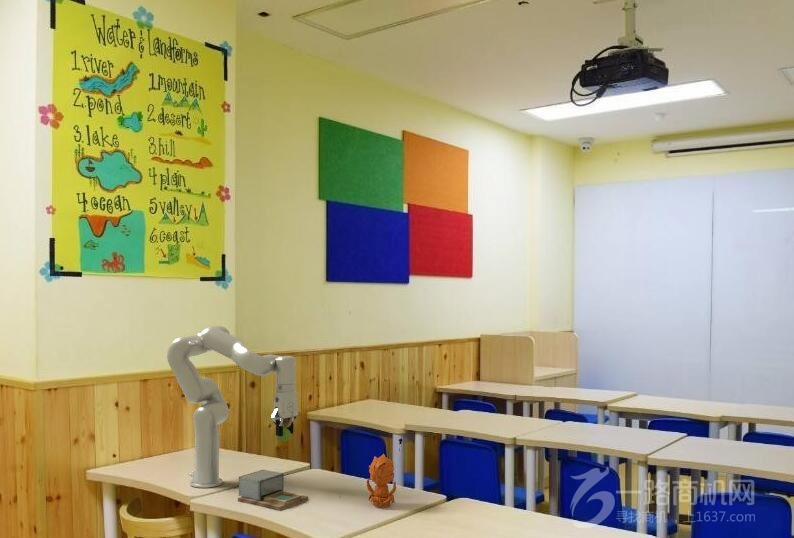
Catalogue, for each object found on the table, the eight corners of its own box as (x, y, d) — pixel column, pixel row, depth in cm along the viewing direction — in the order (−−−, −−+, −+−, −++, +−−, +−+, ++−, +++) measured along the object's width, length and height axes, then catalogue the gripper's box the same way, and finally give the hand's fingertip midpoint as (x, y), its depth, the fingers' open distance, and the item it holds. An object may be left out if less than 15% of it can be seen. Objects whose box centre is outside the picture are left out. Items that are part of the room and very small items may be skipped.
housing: (238, 495, 270) (238, 476, 270) (262, 487, 281) (263, 469, 281) (259, 500, 265) (259, 480, 265) (283, 492, 276) (283, 473, 276)
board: (237, 501, 268) (237, 494, 268) (267, 491, 282) (267, 484, 282) (279, 510, 258) (279, 503, 258) (308, 499, 271) (308, 493, 271)
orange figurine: (401, 502, 269) (401, 453, 269) (391, 510, 259) (391, 459, 259) (372, 499, 272) (373, 450, 273) (361, 507, 262) (362, 456, 263)
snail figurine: (290, 443, 282) (291, 412, 282) (274, 442, 283) (275, 411, 284) (294, 441, 287) (295, 410, 288) (279, 440, 289) (280, 409, 289)
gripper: (278, 391, 276) (277, 439, 276) (306, 386, 291) (306, 432, 291) (263, 389, 280) (262, 437, 280) (292, 384, 295) (291, 430, 295)
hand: (284, 434), depth 285 cm, fingers closed on snail figurine, 5 cm apart
